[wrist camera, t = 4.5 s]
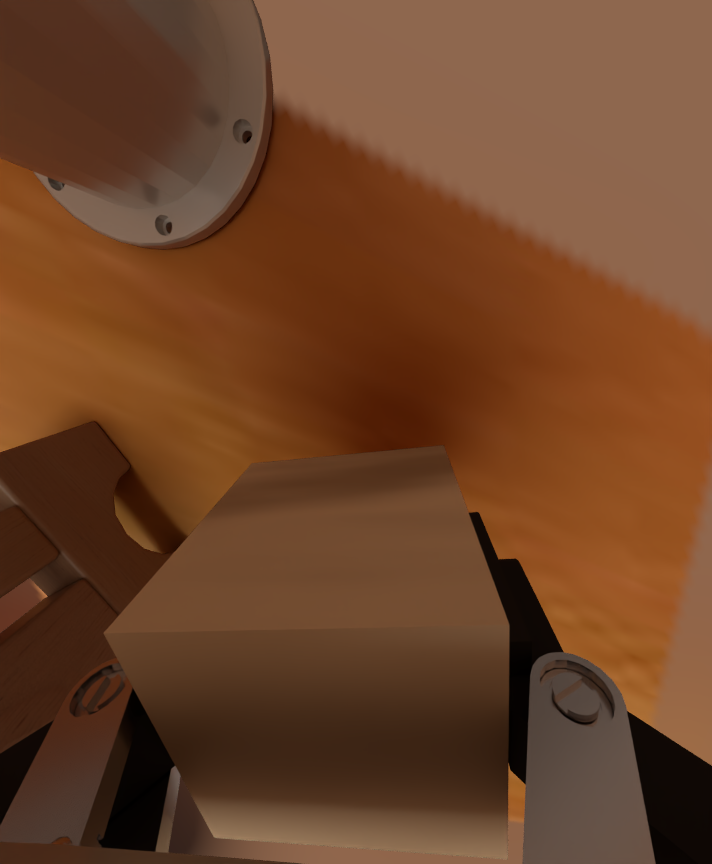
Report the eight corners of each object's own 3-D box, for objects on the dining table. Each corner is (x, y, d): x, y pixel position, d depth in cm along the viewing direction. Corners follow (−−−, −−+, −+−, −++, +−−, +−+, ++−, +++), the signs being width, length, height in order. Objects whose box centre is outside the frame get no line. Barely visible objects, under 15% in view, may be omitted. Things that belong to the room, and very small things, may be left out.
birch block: (251, 463, 11) (103, 633, 5) (443, 444, 10) (509, 625, 4) (291, 606, 13) (214, 837, 7) (453, 600, 12) (507, 859, 6)
